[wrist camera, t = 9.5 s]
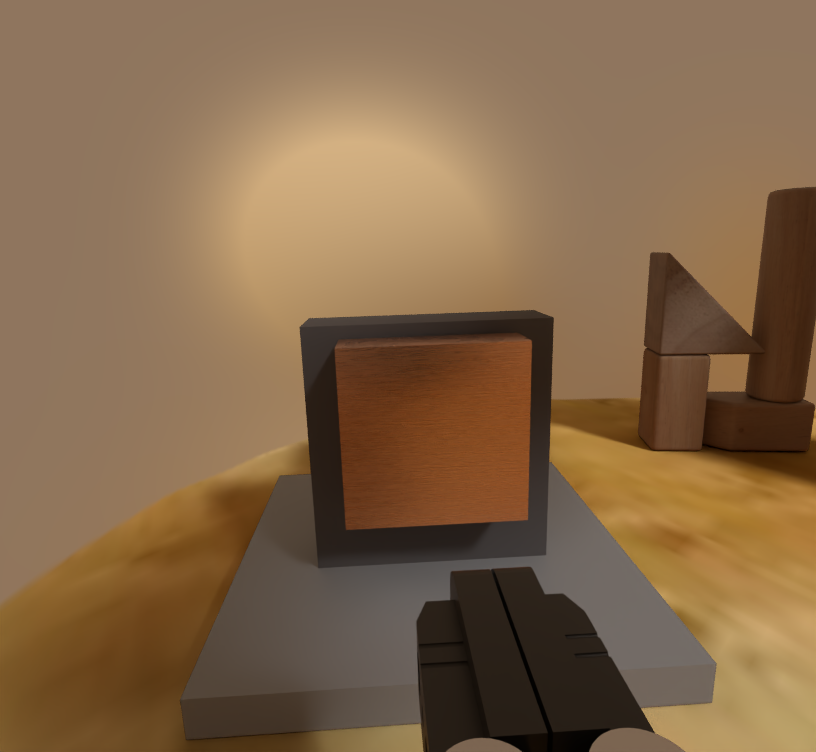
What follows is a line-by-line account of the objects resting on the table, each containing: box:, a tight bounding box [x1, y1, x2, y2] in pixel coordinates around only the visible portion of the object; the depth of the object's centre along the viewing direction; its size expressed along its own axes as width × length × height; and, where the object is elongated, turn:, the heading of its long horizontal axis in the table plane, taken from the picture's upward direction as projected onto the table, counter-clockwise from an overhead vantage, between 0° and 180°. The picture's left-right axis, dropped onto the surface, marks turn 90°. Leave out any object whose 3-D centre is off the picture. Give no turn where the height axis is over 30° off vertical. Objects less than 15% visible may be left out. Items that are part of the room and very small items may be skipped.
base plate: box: [180, 462, 716, 740], centre depth 25 cm, size 17×17×2 cm
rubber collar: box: [300, 310, 554, 568], centre depth 24 cm, size 10×3×10 cm, turn 93°
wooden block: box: [638, 187, 816, 451], centre depth 38 cm, size 4×11×18 cm, turn 84°
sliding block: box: [335, 333, 532, 530], centre depth 27 cm, size 7×14×7 cm, turn 3°
